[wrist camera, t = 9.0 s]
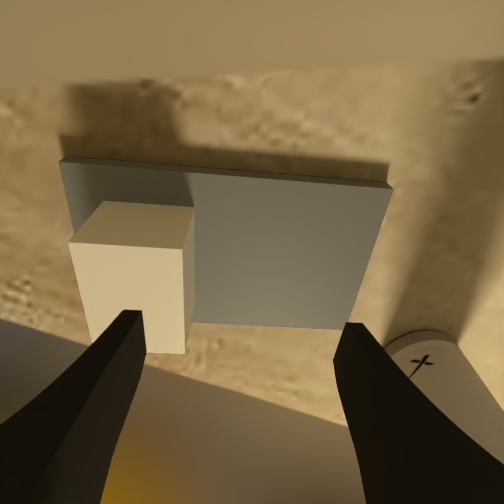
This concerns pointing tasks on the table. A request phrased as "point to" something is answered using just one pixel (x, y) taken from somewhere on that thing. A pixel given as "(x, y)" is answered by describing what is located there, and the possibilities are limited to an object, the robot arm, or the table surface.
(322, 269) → the board
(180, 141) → the table surface
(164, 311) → the cream rectangular block
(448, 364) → the travel mug
